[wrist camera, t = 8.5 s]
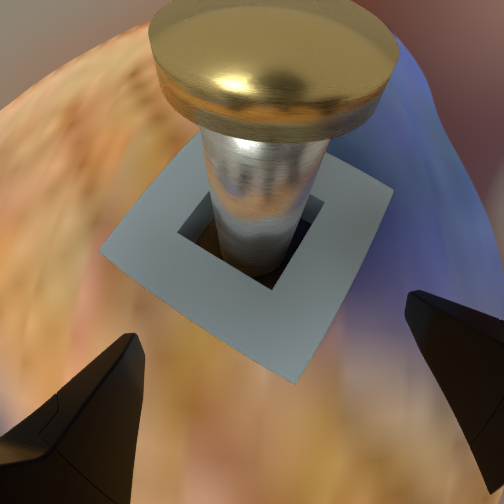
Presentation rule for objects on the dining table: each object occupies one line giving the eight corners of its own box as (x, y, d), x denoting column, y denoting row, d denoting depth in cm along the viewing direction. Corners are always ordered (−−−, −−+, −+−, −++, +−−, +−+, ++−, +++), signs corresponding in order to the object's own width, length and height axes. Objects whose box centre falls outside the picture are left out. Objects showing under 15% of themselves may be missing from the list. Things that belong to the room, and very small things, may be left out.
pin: (318, 258, 18) (441, 64, 5) (237, 308, 17) (225, 131, 4) (267, 188, 20) (296, -26, 7) (190, 229, 19) (121, 12, 5)
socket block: (377, 213, 19) (394, 190, 16) (287, 380, 16) (295, 384, 13) (226, 135, 21) (223, 106, 19) (119, 268, 18) (98, 251, 15)
